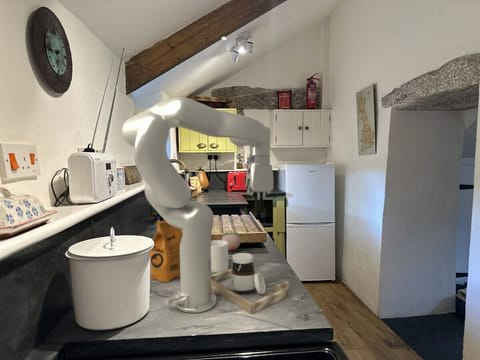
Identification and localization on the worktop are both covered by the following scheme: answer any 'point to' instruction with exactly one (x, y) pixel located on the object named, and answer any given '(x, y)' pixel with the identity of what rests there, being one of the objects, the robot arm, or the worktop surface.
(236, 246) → the decorative fruit
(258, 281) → the spread jar
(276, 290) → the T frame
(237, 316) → the worktop surface
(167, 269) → the coffee package
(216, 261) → the mug
